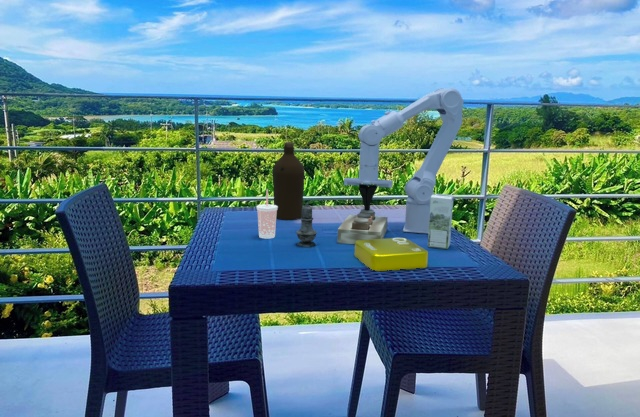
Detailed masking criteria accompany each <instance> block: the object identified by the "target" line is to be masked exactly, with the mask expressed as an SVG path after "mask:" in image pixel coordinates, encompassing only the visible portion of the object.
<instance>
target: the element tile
mask: <svg viewBox="0 0 640 417" xmlns="http://www.w3.org/2000/svg"><path fill="white" fill-rule="evenodd" d="M354 257H355V258H356V259H357V258H358V259H359V262H361V264H363V263H364V264H365V265H364V264H363V265H364V266H365V267H366V268H368V267H369V268H370V269H369V268H368V269H369V270H371V269H372V270H371V271H373V270H375V271H374V272H389V270H392V271H401V270H400V269H406V270H417V269H416V268H420V269H425V268H427V267H428V259H429V251H428V250H426V249H425V248H424V247H421V246H419V245H418V244H417V243H415V242H414V241H411V240H410V239H407V238H406V237H391V238H383V239H369V240H357V241H356V242H355V244H354ZM358 259H357V260H358ZM387 270H388V271H387Z"/></svg>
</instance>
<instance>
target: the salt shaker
mask: <svg viewBox="0 0 640 417" xmlns="http://www.w3.org/2000/svg"><path fill="white" fill-rule="evenodd" d="M299 220H301V221H300V223H301V224H300V229H298V230H296V231H295V233H296V236H297V239H299V241H298V242H297V243H296V245H297V246H298V247H302V248H312V247H315V246H316V245H317V244H316V242H315V241H314V240H315V239H316V236H317V234H318V231H317V230H314V228H313V227H314V226H313V220H314V217H313V207H312V206H311V205H310V204H309V202H306V203H305V204H304V205H303V207H302V217H301V218H300V219H299Z"/></svg>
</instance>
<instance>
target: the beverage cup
mask: <svg viewBox="0 0 640 417" xmlns="http://www.w3.org/2000/svg"><path fill="white" fill-rule="evenodd" d="M265 191H266V192H265V194H266V196H265V200H266V202H265V203H264V204H257V205H256V211H257V226H258V236H259V237H258V238H260V239H266V240H267V239H268V240H269V239H274V238H275V237H276V228H277V227H276V225H277V224H276V223H277V218H276V214H277V208H278V206H276V205H274V204H270V203H269V189H268V188H267V189H265Z"/></svg>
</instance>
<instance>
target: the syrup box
mask: <svg viewBox="0 0 640 417" xmlns="http://www.w3.org/2000/svg"><path fill="white" fill-rule="evenodd" d="M454 196H455V195H453V194H442V193H433V194H432V196H431V200H430V216H429V232H428V233H427V236H428V238H427V248H432V249H433V248H434V249H440V250H441V249H444V250H448V249H449V247H450V245H451V233H452V221H453V208H454V207H453V206H454Z"/></svg>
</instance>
